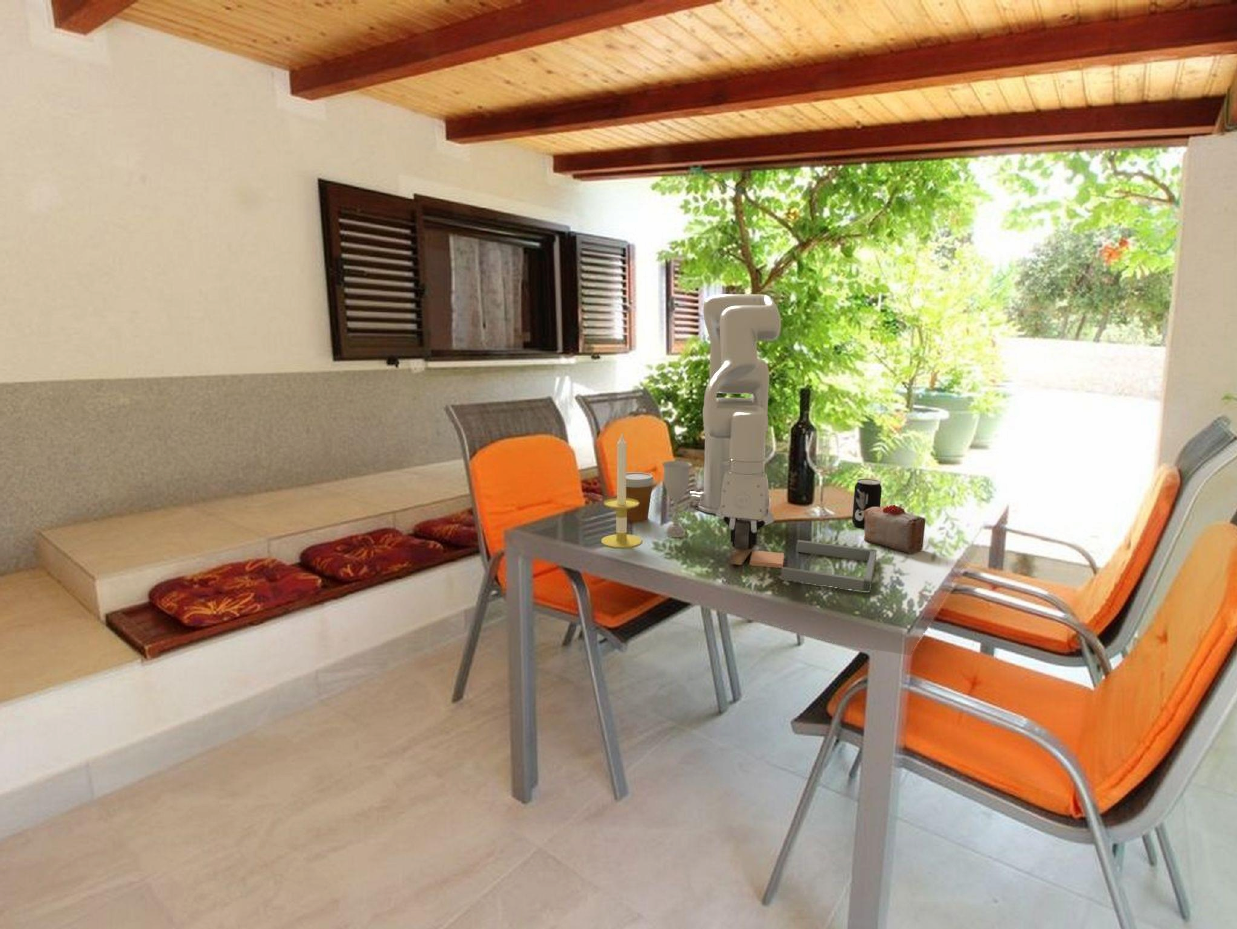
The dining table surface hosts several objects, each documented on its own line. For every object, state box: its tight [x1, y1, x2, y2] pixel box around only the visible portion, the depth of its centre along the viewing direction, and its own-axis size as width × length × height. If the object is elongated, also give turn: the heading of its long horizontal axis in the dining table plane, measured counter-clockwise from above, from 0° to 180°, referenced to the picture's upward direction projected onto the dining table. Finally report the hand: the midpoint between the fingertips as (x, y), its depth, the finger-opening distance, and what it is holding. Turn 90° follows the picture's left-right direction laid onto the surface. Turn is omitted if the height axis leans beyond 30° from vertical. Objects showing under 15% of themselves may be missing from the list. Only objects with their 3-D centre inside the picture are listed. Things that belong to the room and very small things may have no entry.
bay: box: [780, 539, 878, 591], centre depth 144 cm, size 17×20×2 cm
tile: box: [749, 549, 785, 569], centre depth 150 cm, size 7×7×2 cm
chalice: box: [661, 460, 692, 538], centre depth 167 cm, size 7×7×18 cm
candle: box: [600, 433, 643, 550], centre depth 160 cm, size 10×10×27 cm
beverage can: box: [851, 478, 883, 529], centre depth 175 cm, size 7×7×12 cm
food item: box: [863, 504, 927, 555], centre depth 160 cm, size 14×8×10 cm, turn 35°
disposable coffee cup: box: [626, 471, 655, 523], centre depth 180 cm, size 10×10×12 cm
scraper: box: [729, 518, 756, 566], centre depth 151 cm, size 3×13×8 cm, turn 156°
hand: (743, 545), depth 152 cm, fingers closed on scraper, 3 cm apart
